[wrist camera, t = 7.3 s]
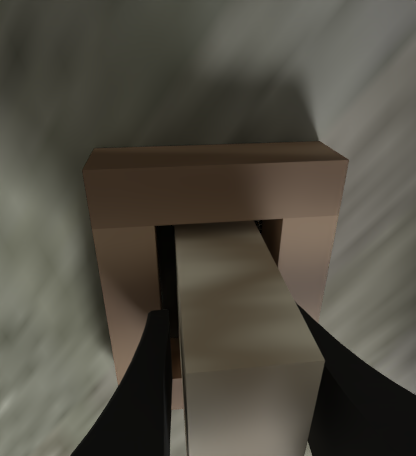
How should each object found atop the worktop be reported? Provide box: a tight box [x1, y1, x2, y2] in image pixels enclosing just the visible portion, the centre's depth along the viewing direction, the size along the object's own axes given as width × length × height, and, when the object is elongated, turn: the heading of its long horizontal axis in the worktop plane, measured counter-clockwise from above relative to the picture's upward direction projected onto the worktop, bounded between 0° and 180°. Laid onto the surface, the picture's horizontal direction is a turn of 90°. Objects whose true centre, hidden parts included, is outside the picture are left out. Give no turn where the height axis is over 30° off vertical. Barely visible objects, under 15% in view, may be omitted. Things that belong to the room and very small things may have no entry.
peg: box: [174, 220, 325, 456], centre depth 13 cm, size 3×6×8 cm, turn 0°
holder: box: [82, 141, 349, 410], centre depth 15 cm, size 11×8×2 cm
